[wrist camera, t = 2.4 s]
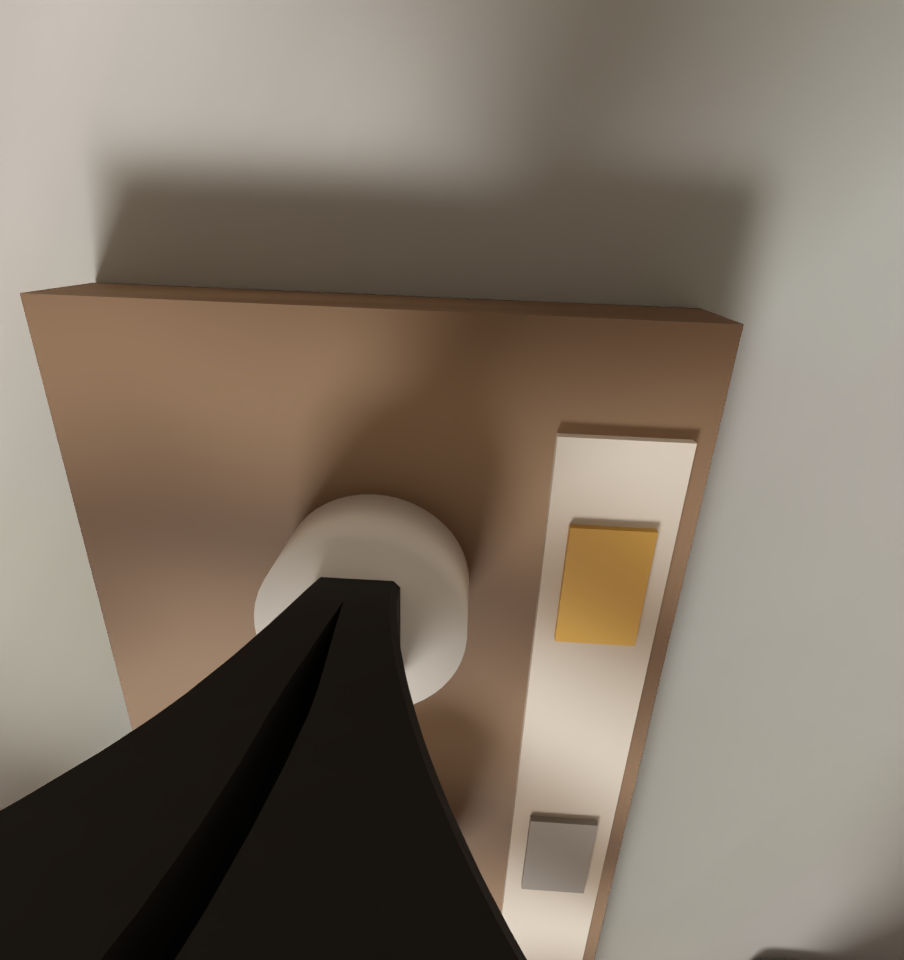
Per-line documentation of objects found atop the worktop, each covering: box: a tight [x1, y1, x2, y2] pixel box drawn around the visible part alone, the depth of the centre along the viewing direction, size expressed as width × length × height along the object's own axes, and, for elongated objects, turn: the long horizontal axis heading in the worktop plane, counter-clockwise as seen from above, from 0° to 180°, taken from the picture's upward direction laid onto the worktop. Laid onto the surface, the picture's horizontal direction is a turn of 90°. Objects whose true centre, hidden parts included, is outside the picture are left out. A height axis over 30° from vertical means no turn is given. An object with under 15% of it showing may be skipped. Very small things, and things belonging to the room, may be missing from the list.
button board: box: [20, 283, 744, 960], centre depth 15 cm, size 26×12×2 cm, turn 178°
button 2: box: [254, 494, 469, 704], centre depth 10 cm, size 4×4×2 cm
